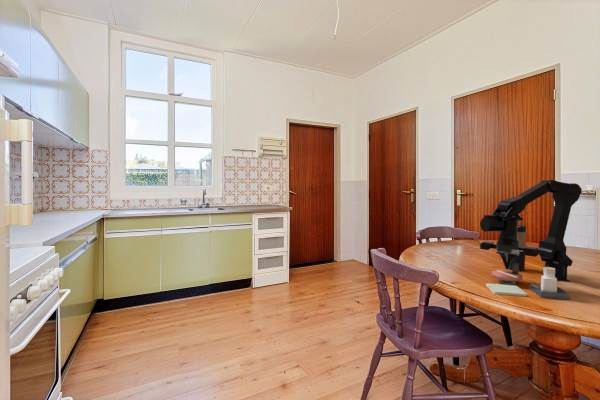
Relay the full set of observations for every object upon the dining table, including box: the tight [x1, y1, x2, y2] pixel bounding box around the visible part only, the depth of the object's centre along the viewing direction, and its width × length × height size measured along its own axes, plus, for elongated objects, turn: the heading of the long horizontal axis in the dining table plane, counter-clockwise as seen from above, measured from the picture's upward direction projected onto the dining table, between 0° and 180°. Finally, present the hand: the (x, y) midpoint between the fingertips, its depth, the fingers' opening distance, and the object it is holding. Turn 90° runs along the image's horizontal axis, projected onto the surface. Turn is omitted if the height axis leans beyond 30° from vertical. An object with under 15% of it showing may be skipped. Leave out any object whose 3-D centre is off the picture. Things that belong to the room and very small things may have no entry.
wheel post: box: [496, 278, 517, 286], centre depth 116 cm, size 6×6×2 cm
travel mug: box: [508, 224, 527, 272], centre depth 133 cm, size 8×8×20 cm
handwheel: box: [491, 263, 523, 282], centre depth 116 cm, size 10×10×5 cm
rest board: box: [485, 283, 528, 297], centre depth 107 cm, size 10×9×1 cm
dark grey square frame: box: [529, 283, 570, 300], centre depth 103 cm, size 8×8×2 cm
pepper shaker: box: [540, 266, 558, 292], centre depth 102 cm, size 4×4×10 cm
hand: (507, 269), depth 118 cm, fingers closed
